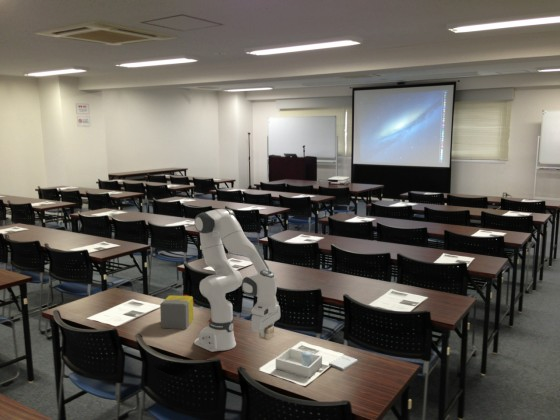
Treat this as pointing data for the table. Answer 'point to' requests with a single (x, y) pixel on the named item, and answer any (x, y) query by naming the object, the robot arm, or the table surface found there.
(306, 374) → the tote
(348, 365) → the external hard drive
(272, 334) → the maple cube
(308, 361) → the pale blue cylinder
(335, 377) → the table surface
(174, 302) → the grey-faced yellow box
